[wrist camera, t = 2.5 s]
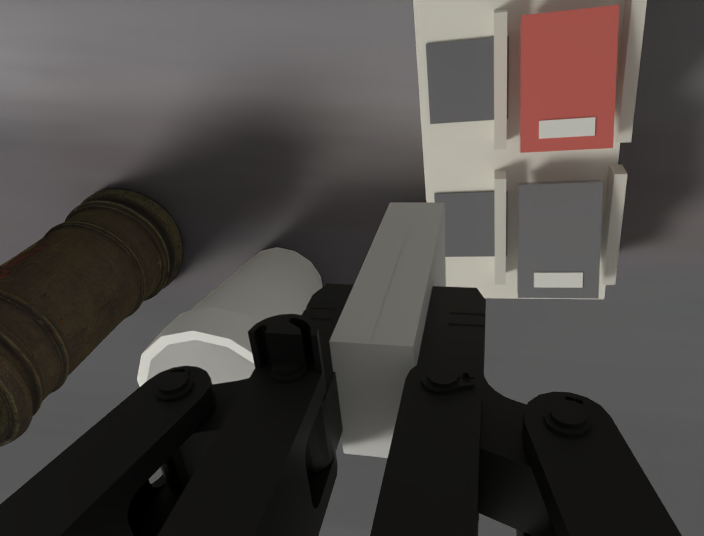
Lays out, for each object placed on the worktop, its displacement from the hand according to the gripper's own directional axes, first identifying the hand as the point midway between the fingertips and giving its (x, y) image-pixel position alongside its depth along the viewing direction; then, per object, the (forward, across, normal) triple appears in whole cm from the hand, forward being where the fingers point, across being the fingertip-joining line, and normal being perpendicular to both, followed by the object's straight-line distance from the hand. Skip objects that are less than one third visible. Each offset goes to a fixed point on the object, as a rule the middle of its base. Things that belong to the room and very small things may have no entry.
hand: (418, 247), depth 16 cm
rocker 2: (+14, +5, -6) cm, 16 cm away
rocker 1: (+14, +5, +2) cm, 15 cm away
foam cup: (+22, -14, -14) cm, 29 cm away
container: (+21, -26, -10) cm, 35 cm away
